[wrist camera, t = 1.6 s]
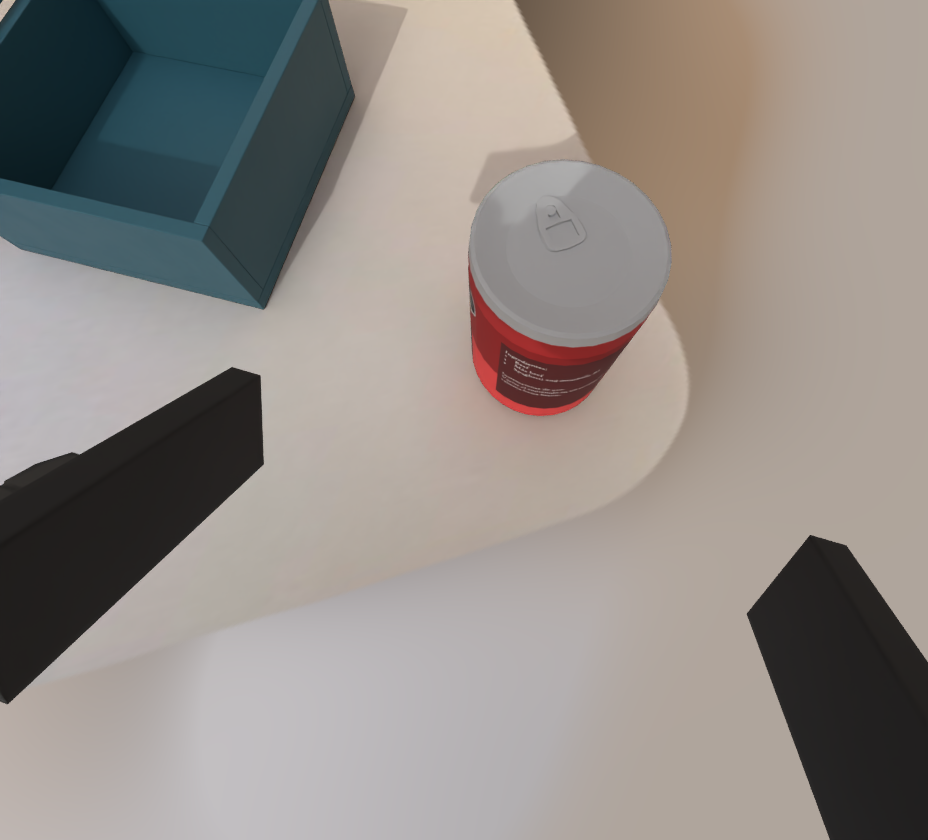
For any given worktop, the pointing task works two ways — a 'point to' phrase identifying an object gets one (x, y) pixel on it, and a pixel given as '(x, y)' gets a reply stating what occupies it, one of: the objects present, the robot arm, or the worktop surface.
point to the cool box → (168, 134)
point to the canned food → (560, 281)
